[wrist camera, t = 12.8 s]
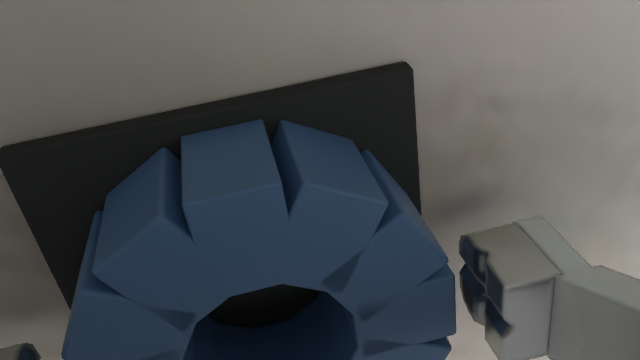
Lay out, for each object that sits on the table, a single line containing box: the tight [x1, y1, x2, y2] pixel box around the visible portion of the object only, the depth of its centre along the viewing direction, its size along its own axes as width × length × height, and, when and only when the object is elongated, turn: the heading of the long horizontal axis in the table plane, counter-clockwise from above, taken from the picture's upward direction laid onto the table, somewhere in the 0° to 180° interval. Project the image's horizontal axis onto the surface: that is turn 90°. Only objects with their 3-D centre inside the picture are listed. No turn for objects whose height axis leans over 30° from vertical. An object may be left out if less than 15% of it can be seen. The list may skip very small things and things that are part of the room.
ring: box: [61, 119, 456, 360], centre depth 11 cm, size 6×6×2 cm
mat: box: [0, 62, 421, 328], centre depth 12 cm, size 7×7×1 cm
